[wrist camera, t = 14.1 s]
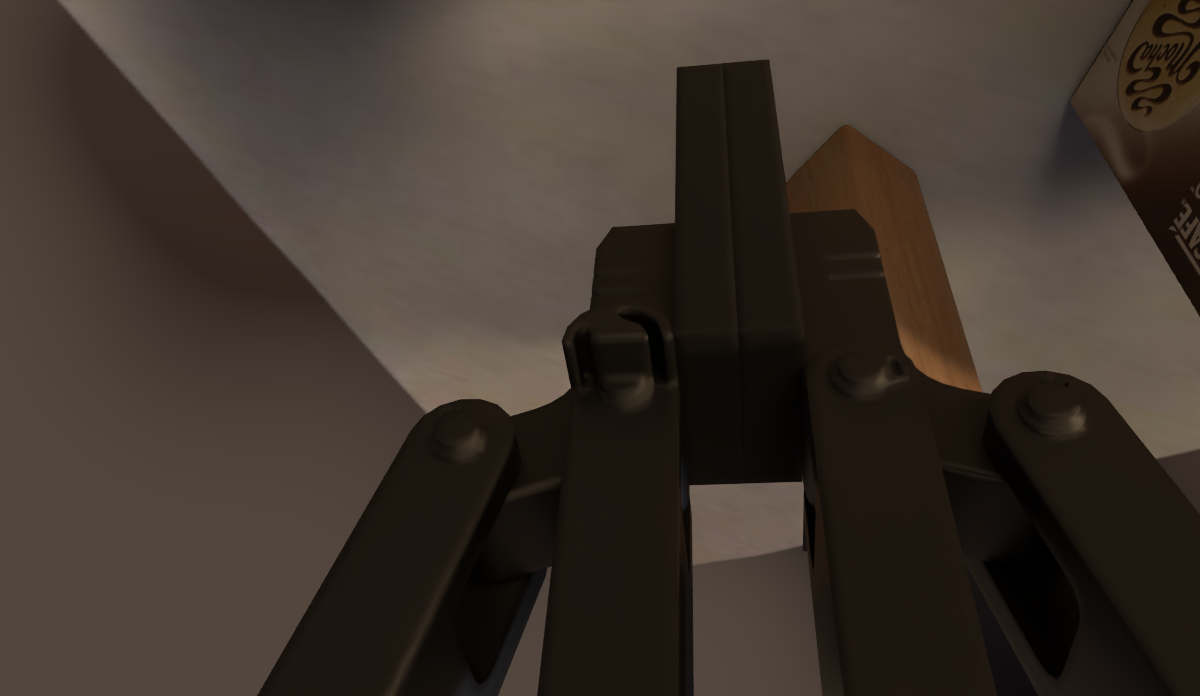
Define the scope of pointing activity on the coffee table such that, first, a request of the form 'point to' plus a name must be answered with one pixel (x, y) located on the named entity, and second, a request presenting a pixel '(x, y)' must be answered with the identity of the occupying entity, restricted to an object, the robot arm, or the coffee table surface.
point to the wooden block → (893, 246)
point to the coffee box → (1153, 124)
